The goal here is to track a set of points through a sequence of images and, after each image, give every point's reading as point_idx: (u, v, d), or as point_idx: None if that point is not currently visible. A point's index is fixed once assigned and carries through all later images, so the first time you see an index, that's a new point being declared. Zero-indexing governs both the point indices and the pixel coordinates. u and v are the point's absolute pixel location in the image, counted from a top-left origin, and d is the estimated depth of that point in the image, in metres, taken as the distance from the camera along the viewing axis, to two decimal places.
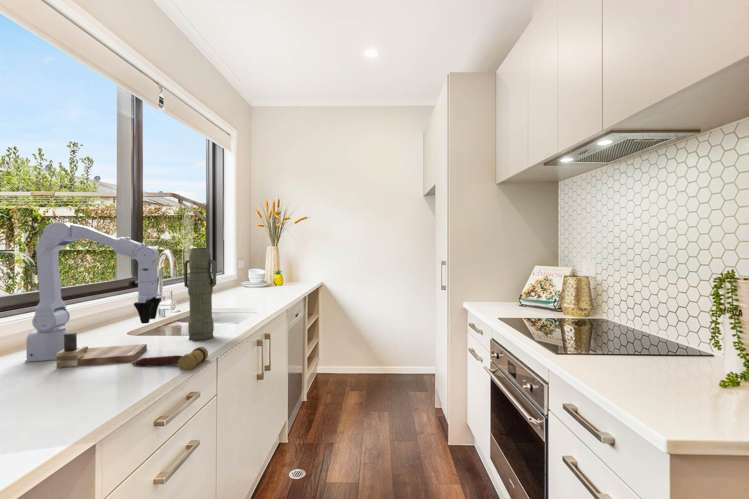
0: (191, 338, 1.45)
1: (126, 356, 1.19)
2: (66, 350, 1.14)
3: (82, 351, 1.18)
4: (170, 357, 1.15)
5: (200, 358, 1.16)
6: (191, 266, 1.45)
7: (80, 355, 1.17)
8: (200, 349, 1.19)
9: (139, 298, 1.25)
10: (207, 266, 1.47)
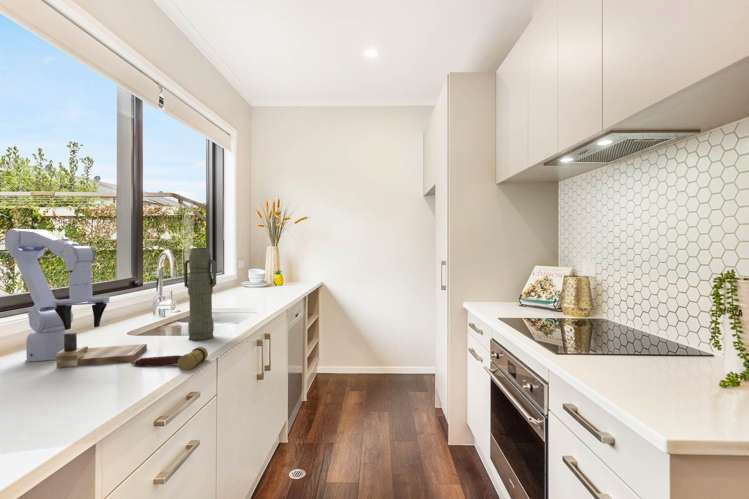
0: (191, 338, 1.45)
1: (126, 356, 1.19)
2: (66, 350, 1.14)
3: (82, 351, 1.18)
4: (170, 357, 1.15)
5: (200, 358, 1.16)
6: (191, 266, 1.45)
7: (80, 355, 1.17)
8: (200, 349, 1.19)
9: None
10: (207, 266, 1.47)
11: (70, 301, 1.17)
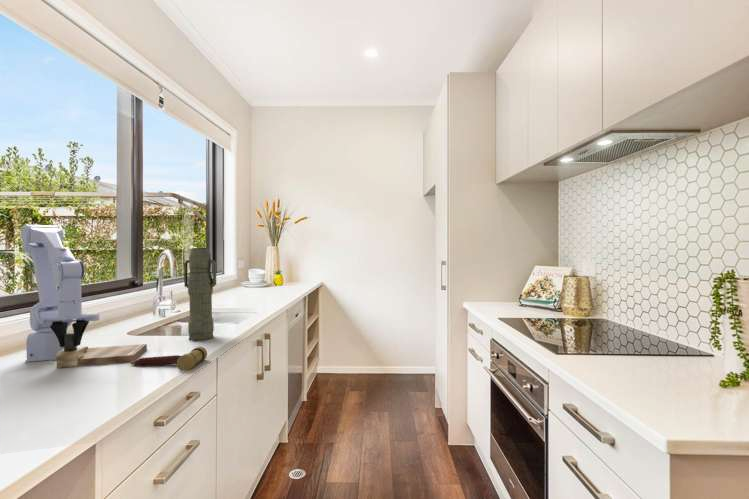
0: (191, 338, 1.45)
1: (126, 356, 1.19)
2: (66, 350, 1.14)
3: (82, 351, 1.18)
4: (169, 357, 1.15)
5: (199, 358, 1.16)
6: (191, 266, 1.45)
7: (80, 355, 1.17)
8: (199, 349, 1.19)
9: None
10: (207, 266, 1.47)
11: (58, 318, 1.13)
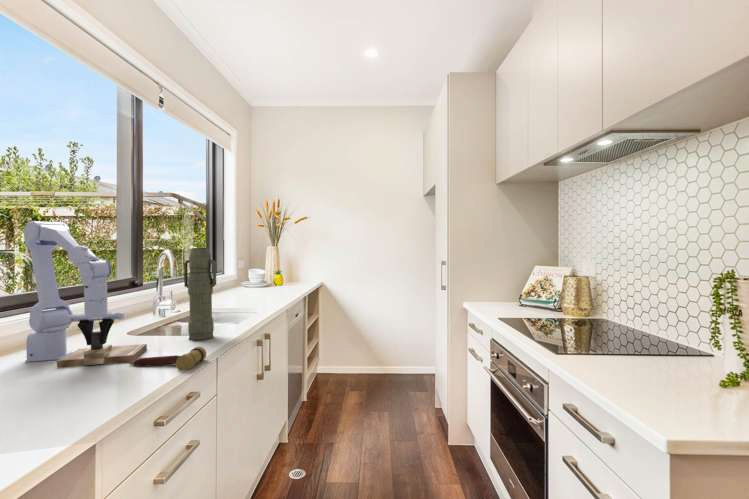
0: (191, 338, 1.45)
1: (126, 356, 1.19)
2: (93, 348, 1.16)
3: (108, 349, 1.20)
4: (168, 357, 1.15)
5: (198, 358, 1.16)
6: (191, 266, 1.45)
7: (106, 353, 1.19)
8: (198, 349, 1.18)
9: None
10: (207, 266, 1.47)
11: (85, 317, 1.15)
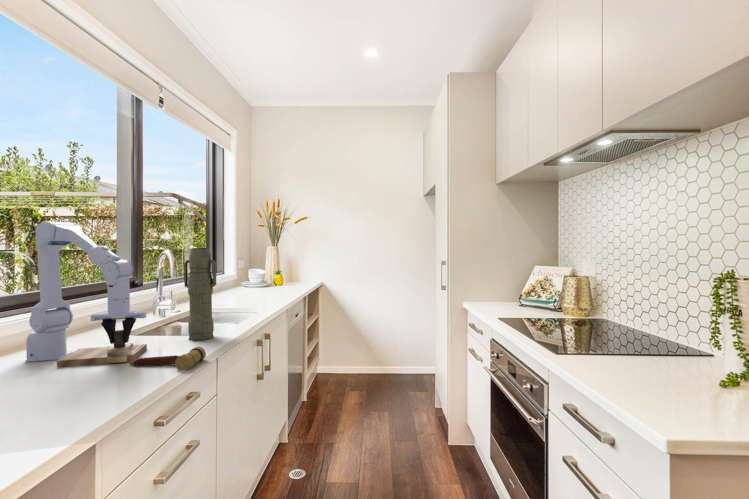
0: (191, 338, 1.45)
1: None
2: (116, 346, 1.18)
3: (130, 348, 1.21)
4: (167, 357, 1.15)
5: (197, 358, 1.16)
6: (191, 266, 1.45)
7: (128, 351, 1.20)
8: (197, 349, 1.19)
9: None
10: (207, 266, 1.47)
11: (108, 316, 1.16)
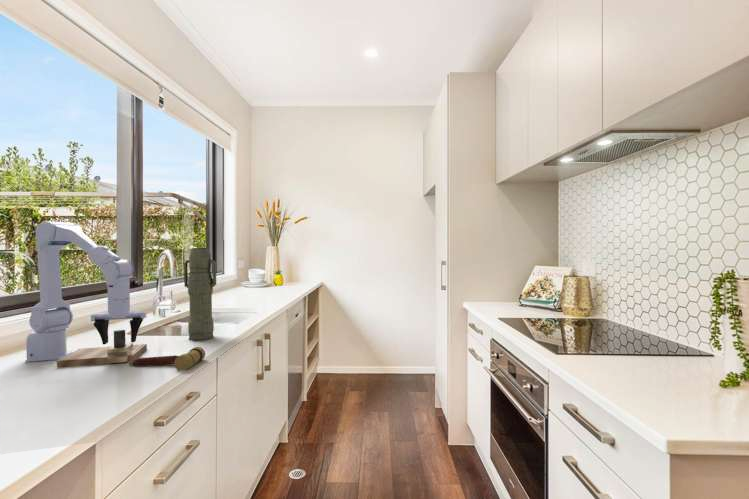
0: (191, 338, 1.45)
1: None
2: (116, 346, 1.18)
3: (130, 348, 1.21)
4: (167, 357, 1.15)
5: (197, 358, 1.16)
6: (191, 266, 1.45)
7: (129, 351, 1.20)
8: (197, 349, 1.19)
9: None
10: (207, 266, 1.47)
11: (109, 316, 1.16)
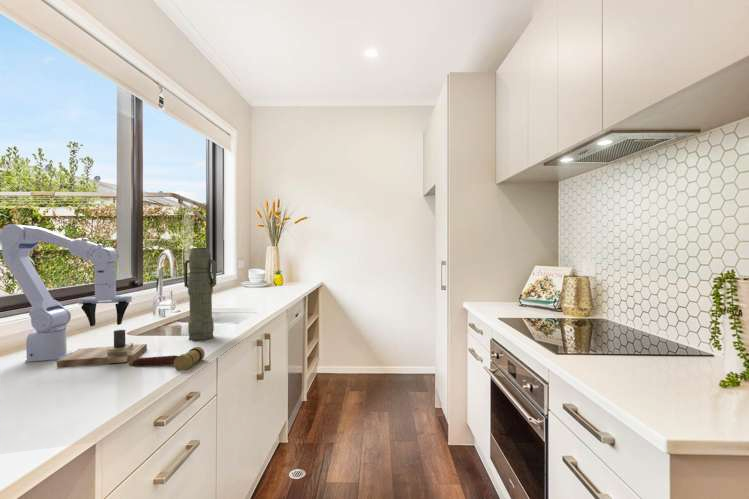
0: (191, 338, 1.45)
1: None
2: (116, 346, 1.18)
3: (130, 348, 1.21)
4: (166, 357, 1.15)
5: (196, 358, 1.16)
6: (191, 266, 1.45)
7: (129, 351, 1.20)
8: (196, 349, 1.19)
9: None
10: (207, 266, 1.47)
11: (95, 299, 1.24)
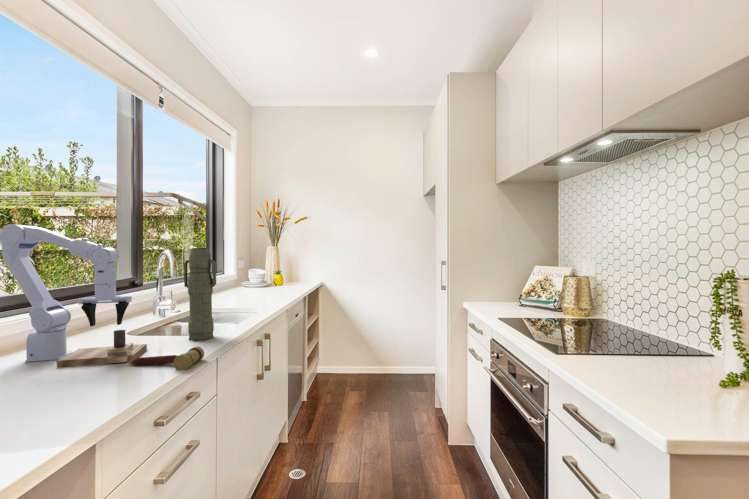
0: (191, 338, 1.45)
1: None
2: (116, 346, 1.18)
3: (130, 348, 1.21)
4: (166, 357, 1.15)
5: (196, 358, 1.16)
6: (191, 266, 1.45)
7: (129, 351, 1.20)
8: (196, 349, 1.19)
9: None
10: (207, 266, 1.47)
11: (95, 299, 1.24)
